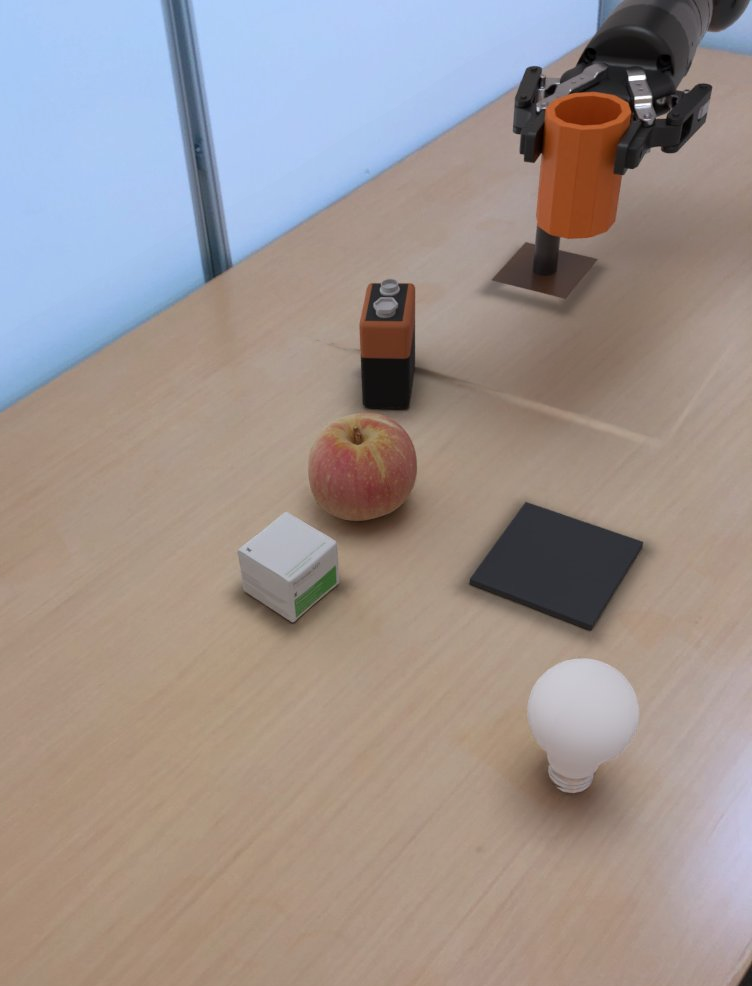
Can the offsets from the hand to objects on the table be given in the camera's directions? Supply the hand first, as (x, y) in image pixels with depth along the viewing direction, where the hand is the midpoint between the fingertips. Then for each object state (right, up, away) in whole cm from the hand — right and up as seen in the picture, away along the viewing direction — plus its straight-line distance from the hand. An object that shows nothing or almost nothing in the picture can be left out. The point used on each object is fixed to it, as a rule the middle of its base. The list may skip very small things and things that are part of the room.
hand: (574, 155), depth 76 cm
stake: (+7, +4, +37) cm, 37 cm away
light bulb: (-1, -43, -2) cm, 43 cm away
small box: (-19, -29, +12) cm, 37 cm away
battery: (-10, -10, +27) cm, 31 cm away
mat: (+1, -28, +10) cm, 30 cm away
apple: (-13, -22, +17) cm, 31 cm away
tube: (+2, -2, +6) cm, 6 cm away
